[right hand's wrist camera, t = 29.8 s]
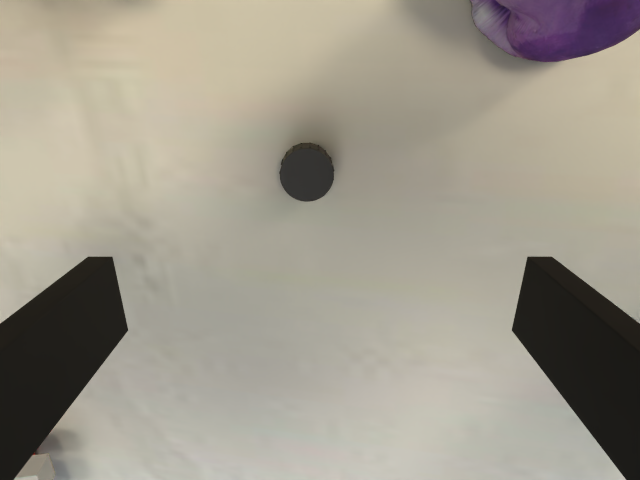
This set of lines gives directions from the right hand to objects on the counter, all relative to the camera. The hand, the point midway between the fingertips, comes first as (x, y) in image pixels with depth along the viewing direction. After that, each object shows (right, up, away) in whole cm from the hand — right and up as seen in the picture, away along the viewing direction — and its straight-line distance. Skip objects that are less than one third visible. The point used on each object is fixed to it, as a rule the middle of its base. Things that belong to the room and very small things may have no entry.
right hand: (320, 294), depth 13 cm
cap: (-1, +6, +15) cm, 16 cm away
